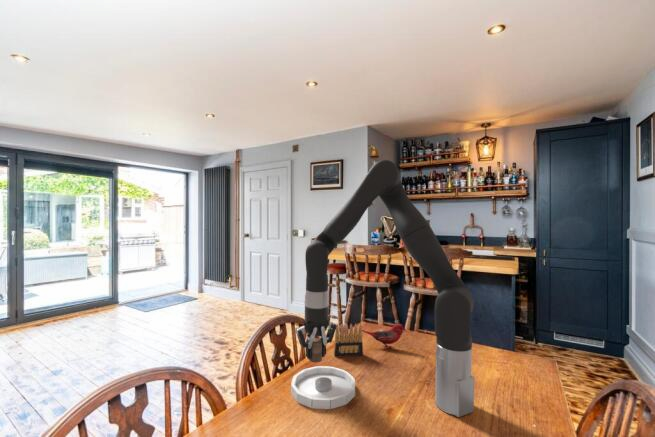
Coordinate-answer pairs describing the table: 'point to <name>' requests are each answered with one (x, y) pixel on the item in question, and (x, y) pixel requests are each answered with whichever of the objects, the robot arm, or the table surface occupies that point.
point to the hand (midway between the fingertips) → (315, 357)
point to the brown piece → (316, 350)
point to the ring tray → (323, 387)
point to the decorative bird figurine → (388, 334)
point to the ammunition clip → (348, 342)
